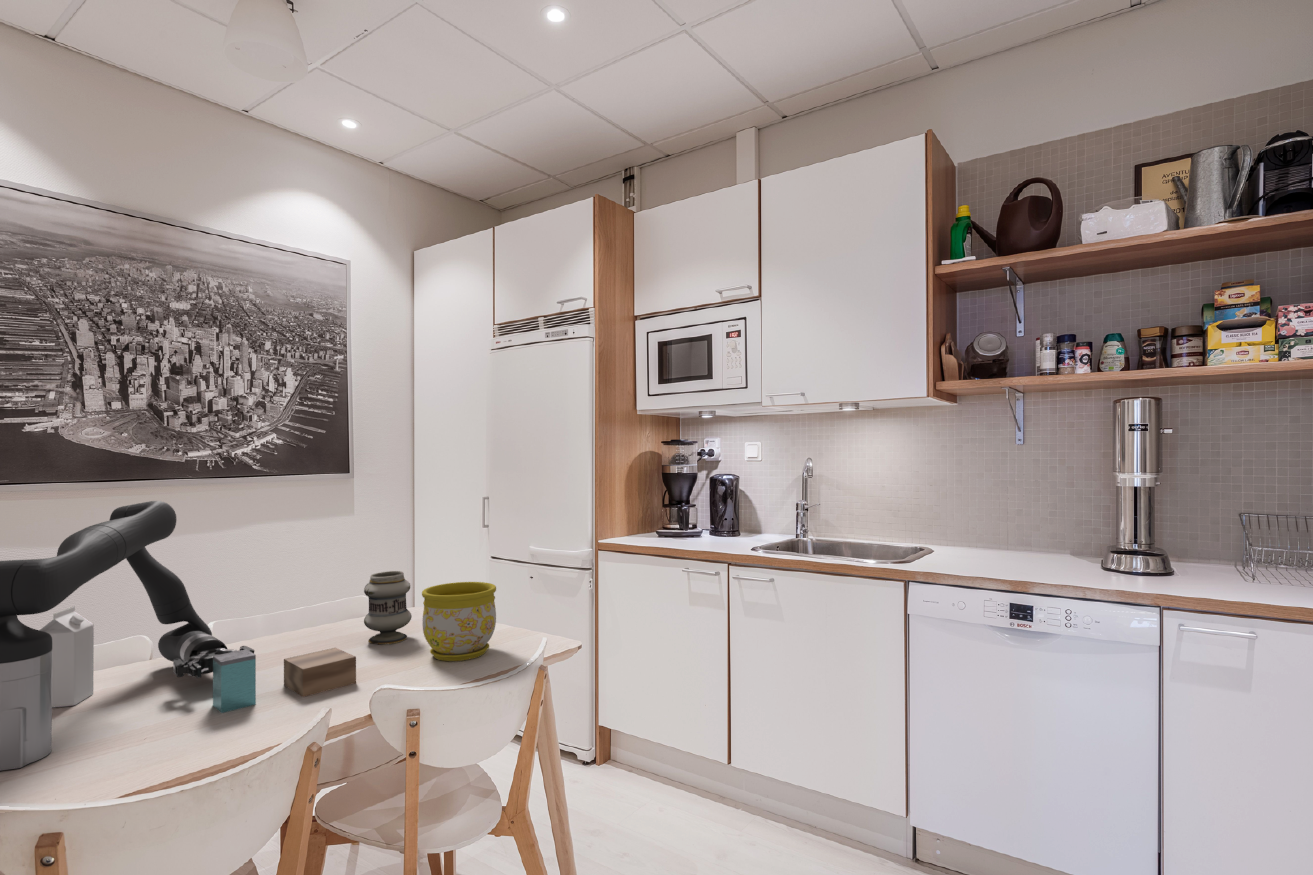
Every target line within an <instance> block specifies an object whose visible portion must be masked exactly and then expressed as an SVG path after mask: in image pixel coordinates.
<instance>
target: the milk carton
mask: <svg viewBox="0 0 1313 875" xmlns="http://www.w3.org/2000/svg"><path fill="white" fill-rule="evenodd" d="M94 627H95V625H94V623H93V622H92V621H90V620H89V619H87V618H86V617H84V616H83V615H82V614H80V613H78V612H77V611H76V607H75V606H72V607H69V608H65V609H63V610H60V611H57V612H56V613H53V619H52V620H50V621H49V622H48V623H47V624H46V625H44V626H43V627H41V629H39V630H40V631H43V632H47V633H49V634H50V635H51V637H52V709H53V708H61V707H62V708H63V707H72V706H76V705H78V704H79V703H81V702H82V701H84V700H86V699H87V698H89V697H91V696H92V695H93V694H94V663H95V662H94V650H95V646H94V643H95V642H94V640H95V638H94V637H95V636H94V633H95V628H94Z"/></svg>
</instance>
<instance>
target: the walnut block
mask: <svg viewBox="0 0 1313 875" xmlns="http://www.w3.org/2000/svg"><path fill="white" fill-rule="evenodd" d="M353 684H357V657H356V655H353V654H351V653H349V652H346V651H344V650H342V649H339V648H338V647H332V648H328V649H324V650H323V649H322V650H319V651H314V652H309V653H303V654H299V655H296V656H295V655H294V656H290V657H286V658H283V686H285V687H286V688H288V689H289V690H291V691H293V692H294V693H296V694H297V695H299V696H300V697H302V698H305V697H308V696H312V695H316V694H320V693H324V692H327V691H331V690H335V689H339V688H342V687H346V686H350V685H353Z"/></svg>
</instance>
